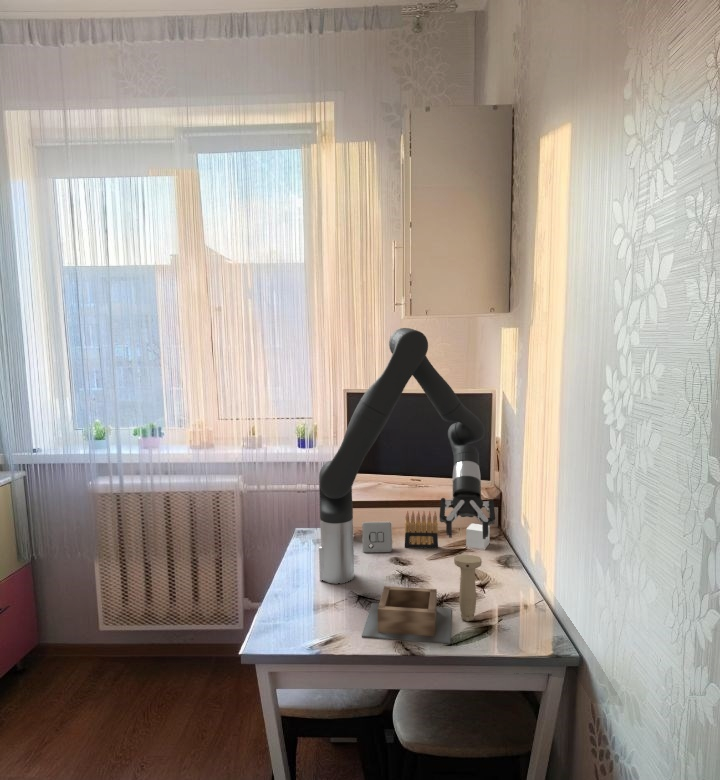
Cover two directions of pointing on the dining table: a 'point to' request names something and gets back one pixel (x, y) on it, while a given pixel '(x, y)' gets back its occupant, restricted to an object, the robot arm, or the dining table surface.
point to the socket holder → (408, 616)
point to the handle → (467, 584)
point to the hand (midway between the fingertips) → (467, 537)
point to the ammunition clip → (421, 531)
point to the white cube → (476, 537)
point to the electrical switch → (377, 536)
